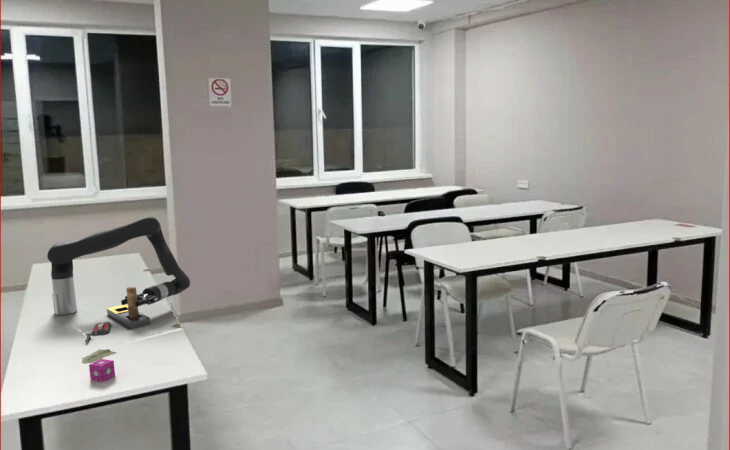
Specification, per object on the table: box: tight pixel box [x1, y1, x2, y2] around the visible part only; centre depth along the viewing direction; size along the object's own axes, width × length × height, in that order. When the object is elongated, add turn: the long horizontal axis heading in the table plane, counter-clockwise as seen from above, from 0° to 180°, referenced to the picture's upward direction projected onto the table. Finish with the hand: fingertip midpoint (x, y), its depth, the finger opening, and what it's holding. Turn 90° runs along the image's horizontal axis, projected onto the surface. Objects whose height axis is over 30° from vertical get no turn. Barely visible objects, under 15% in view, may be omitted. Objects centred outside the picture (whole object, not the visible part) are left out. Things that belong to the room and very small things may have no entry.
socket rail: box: [105, 304, 154, 331], centre depth 275 cm, size 11×28×4 cm, turn 42°
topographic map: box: [81, 348, 117, 365], centre depth 232 cm, size 14×14×2 cm
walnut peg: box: [125, 286, 139, 319], centre depth 269 cm, size 4×4×16 cm
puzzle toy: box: [88, 358, 116, 383], centre depth 214 cm, size 6×6×6 cm
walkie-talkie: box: [85, 321, 112, 343], centre depth 258 cm, size 9×4×20 cm
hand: (129, 303), depth 266 cm, fingers open, 7 cm apart
